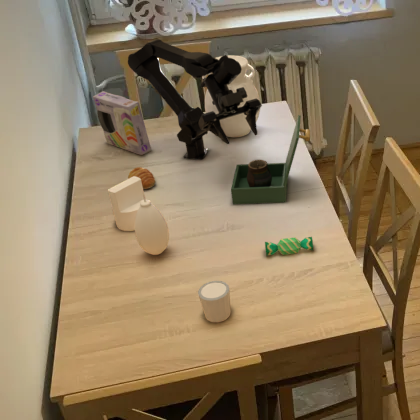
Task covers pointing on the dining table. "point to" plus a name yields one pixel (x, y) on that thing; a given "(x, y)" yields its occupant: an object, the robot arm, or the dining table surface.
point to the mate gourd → (259, 174)
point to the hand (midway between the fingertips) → (242, 139)
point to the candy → (289, 246)
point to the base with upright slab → (126, 202)
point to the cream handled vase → (238, 123)
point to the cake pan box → (122, 122)
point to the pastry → (143, 177)
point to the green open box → (259, 194)
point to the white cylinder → (215, 300)
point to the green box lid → (294, 147)
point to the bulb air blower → (151, 228)
